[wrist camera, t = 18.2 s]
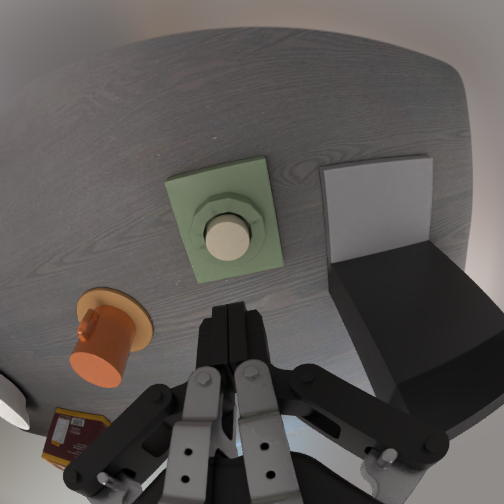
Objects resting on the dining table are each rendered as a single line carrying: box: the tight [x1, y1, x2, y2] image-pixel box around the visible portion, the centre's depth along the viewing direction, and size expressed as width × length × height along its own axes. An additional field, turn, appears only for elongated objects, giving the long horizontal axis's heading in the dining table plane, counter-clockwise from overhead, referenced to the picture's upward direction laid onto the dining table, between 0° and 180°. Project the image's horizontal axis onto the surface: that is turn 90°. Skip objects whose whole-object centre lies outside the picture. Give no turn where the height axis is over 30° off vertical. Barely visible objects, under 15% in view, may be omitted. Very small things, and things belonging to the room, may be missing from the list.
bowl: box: [0, 374, 30, 430], centre depth 39 cm, size 21×21×8 cm
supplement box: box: [42, 408, 111, 471], centre depth 41 cm, size 10×15×16 cm
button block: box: [164, 156, 284, 284], centre depth 25 cm, size 11×9×4 cm
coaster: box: [77, 288, 153, 352], centre depth 32 cm, size 11×11×1 cm
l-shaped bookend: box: [319, 155, 504, 441], centre depth 19 cm, size 15×13×22 cm
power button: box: [206, 214, 250, 261], centre depth 23 cm, size 4×4×2 cm
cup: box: [70, 305, 136, 388], centre depth 28 cm, size 8×6×8 cm
